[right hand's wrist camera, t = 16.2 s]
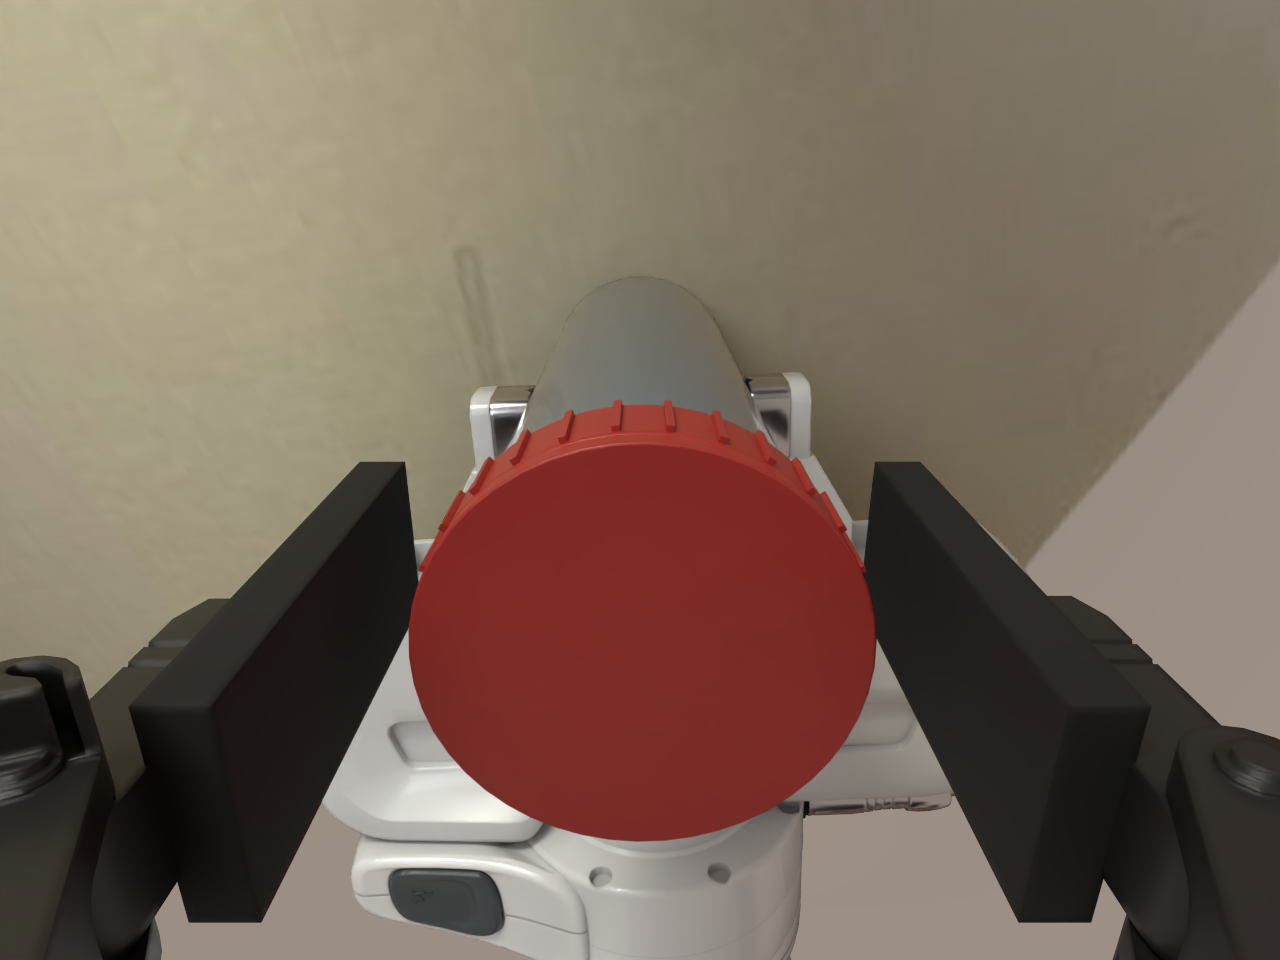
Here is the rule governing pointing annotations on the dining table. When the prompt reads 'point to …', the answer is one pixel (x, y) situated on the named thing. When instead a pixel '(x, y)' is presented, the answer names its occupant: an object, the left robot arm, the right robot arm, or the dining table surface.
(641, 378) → the jar
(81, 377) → the dining table surface
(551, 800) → the lid
